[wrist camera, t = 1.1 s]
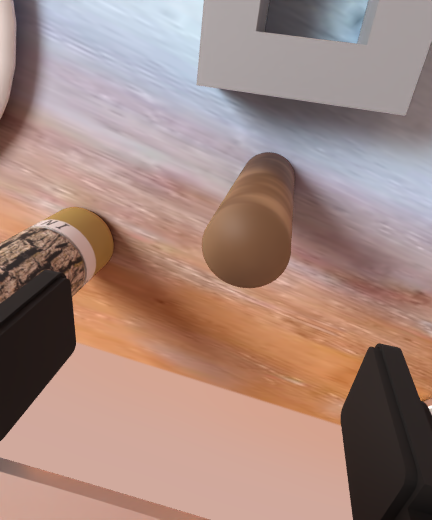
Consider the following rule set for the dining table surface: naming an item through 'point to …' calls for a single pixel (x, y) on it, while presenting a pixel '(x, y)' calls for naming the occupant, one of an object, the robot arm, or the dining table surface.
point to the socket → (317, 56)
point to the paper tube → (56, 250)
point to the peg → (253, 224)
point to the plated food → (7, 50)
